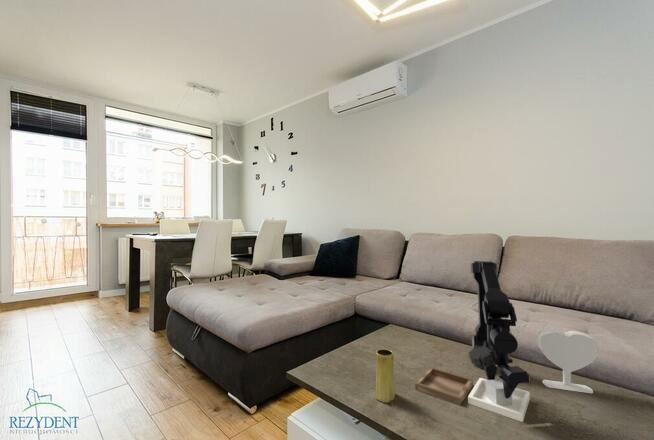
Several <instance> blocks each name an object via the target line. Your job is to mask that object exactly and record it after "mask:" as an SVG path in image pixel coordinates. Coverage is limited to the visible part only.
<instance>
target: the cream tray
mask: <svg viewBox="0 0 654 440" xmlns="http://www.w3.org/2000/svg"><path fill="white" fill-rule="evenodd" d="M486 380H487V379H486V378H483V377H479V378H478V380H477V381H476V383H475V384H474V385H473V388H471V390H470V393H468V395H467V404H469V405H472V406H475V407H478V408H480V409H484V410H486V411H488V412H489V411H490V412H492V413H495V414H497V415H498V414H499V415H500V416H504V417H507V418H510V419H512V420H515V421H518V422H521V423H523V422H524V420H525V417H526V412H527V409H528V406H529V403H530V396H531V395H530V393H531V392H530V391H527V390H524V389H521V388H518V387H516V388H515V390H514V391H513V393H512V405H504V406H500V405H497V404H494V403H493V402H491V401H490V400H489V399H488V398H487V397H486Z"/></svg>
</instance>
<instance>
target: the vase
mask: <svg viewBox="0 0 654 440" xmlns="http://www.w3.org/2000/svg"><path fill="white" fill-rule="evenodd" d="M375 360H376V363H375V364H376V366H375V367H376V370H375V372H376V373H375V374H376V375H375V377H376V379H375V380H376V381H375V398H376V399H377V400H378V401H380V402H381V403H382V402H383V403H386V404H387V403H391V401H393V400H395V399H396V392H395V391H396V390H395V389H396V388H395V373H394V372H395V371H394V352H393V351H392V350H390V349H387V348H380V349H377V350H376V351H375Z"/></svg>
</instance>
